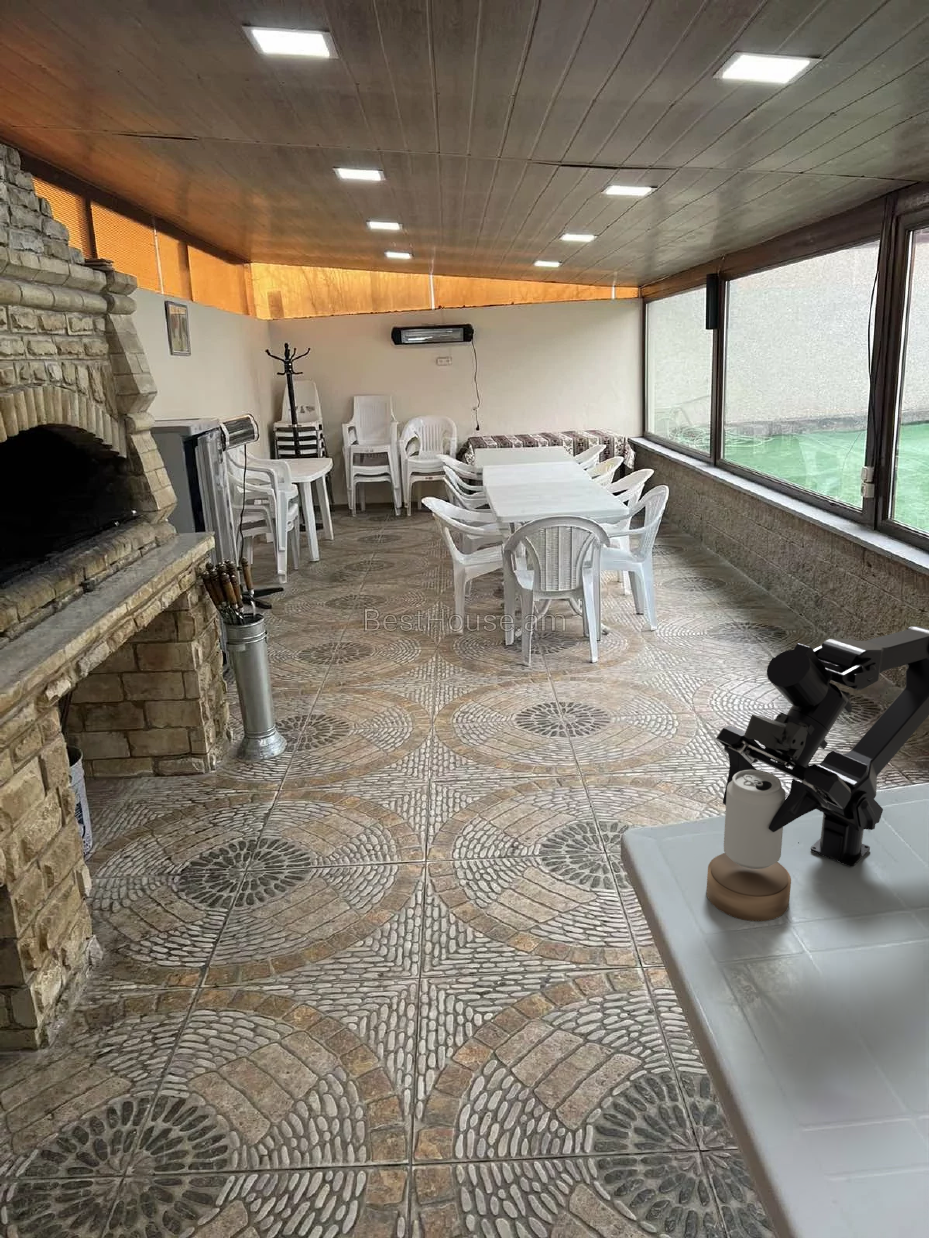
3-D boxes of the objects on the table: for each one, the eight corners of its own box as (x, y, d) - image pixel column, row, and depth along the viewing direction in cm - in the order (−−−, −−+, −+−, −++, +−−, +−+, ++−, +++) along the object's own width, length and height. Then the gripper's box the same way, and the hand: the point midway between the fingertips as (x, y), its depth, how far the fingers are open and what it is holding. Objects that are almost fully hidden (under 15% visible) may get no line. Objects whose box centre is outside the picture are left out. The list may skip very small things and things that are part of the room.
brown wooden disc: (731, 863, 128) (733, 840, 126) (803, 894, 120) (805, 870, 119) (691, 896, 121) (692, 872, 119) (764, 932, 113) (766, 906, 112)
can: (767, 879, 113) (773, 799, 110) (713, 859, 118) (718, 782, 114) (788, 853, 119) (795, 775, 115) (736, 835, 123) (741, 760, 120)
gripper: (728, 672, 121) (667, 764, 119) (845, 717, 105) (777, 824, 103) (763, 709, 127) (706, 797, 125) (878, 757, 111) (815, 859, 110)
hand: (747, 817), depth 116 cm, fingers closed on can, 7 cm apart
